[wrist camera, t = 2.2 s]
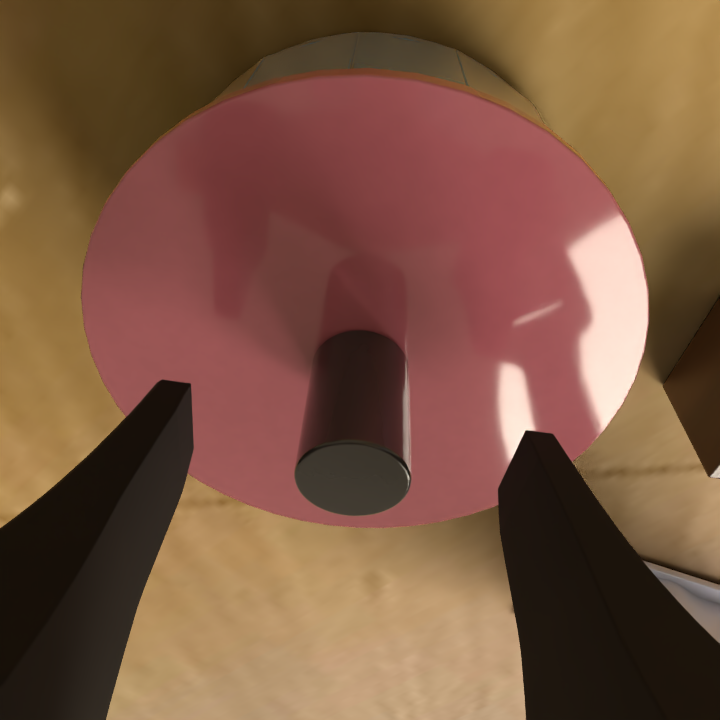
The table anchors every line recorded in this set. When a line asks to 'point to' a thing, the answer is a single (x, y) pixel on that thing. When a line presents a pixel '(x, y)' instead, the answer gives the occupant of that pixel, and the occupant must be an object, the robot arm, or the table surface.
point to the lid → (366, 293)
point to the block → (700, 392)
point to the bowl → (383, 63)
